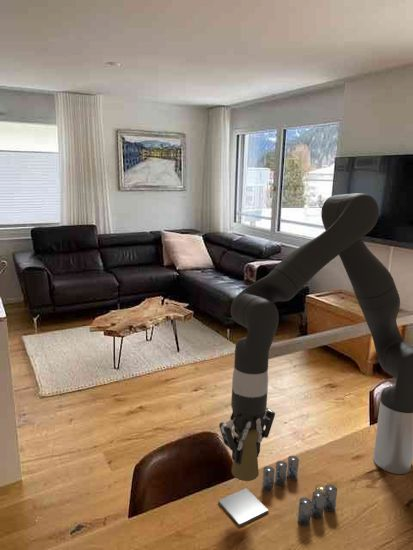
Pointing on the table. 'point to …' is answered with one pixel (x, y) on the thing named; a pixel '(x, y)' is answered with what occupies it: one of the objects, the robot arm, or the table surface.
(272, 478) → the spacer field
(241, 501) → the coaster
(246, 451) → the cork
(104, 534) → the table surface
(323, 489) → the glossy gold bead
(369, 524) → the table surface
